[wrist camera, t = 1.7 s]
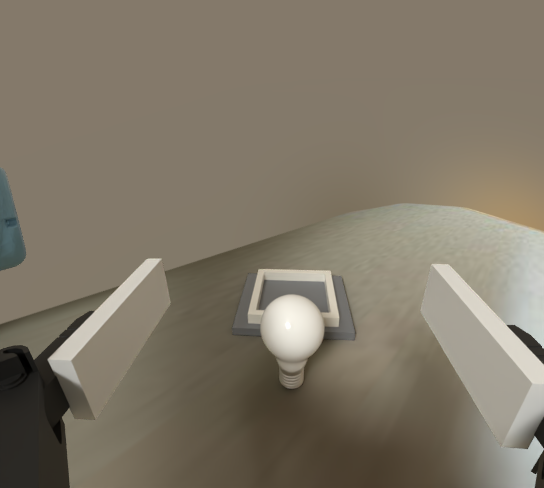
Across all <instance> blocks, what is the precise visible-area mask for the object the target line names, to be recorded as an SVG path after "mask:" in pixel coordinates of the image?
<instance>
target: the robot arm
mask: <svg viewBox="0 0 544 488" xmlns="http://www.w3.org/2000/svg"><path fill="white" fill-rule="evenodd" d="M25 257H26V249H25V245H24V240H23V236H22V233H21V228H20V224H19V220H18V217H17V212H16V209H15V205H14V201H13V197H12V193H11V189H10V186H9V182H8V178H7V175H6V172H5V171H4V169H3V168H0V271H1V270H5V269H8V268H12V267H15V266H17V265H19V264H21V263H22V262H23V261H24V259H25ZM170 304H171V302H170V297H169V292H168V287H167V282H166V277H165V272H164V267H163V262H162V259H154V258H151V259H150V258H147V259H146V260H145V261H144V262H143V263H142V264H141V265H140V266H139V267H138V268H137V270H135V271H134V272H133V273H132V275H130V276H129V277H128V278H127V279H126V281H124V282H123V283H122V285H121V286H120V287H119V288H118V289H117V290H116V291H115V292H114V293H113V294H112V295H111V296H110V297H109V298H108V299H107V300H106V301H105V302H104V303H103V304H102V305H101V306H100V307H99V308H98V309H97V310H96V311H89V312H87V313H86V314H84V315H82V316H81V317H79V318H78V319H76V320H75V321H74V322H73V323H72V324H71V325H70V326H69V327H68V328H67V330H65V331H64V332H63V333H62V334H61V335H60V337H59V338H57V339H55V340H54V341H53V342H52V343H51V344H50V345H49V346H48V347H47V348H46V349H45V350H44V351H43V352H42V353H41V354H40V355H39V356H38V357H37V358H36V359H35V360H33V358H32V355H31V353H30V351H29V349H28V347H25V346H23V345H18V346H11V347H7V348H3V349H1V350H0V488H70V485H69V473H68V461H67V449H66V436H65V424H64V422H63V420H62V416H63V415H64V414H65V412H66V411H67V410H68V408H69V407H70V410H71V412H72V414H73V416H74V418H75V419H86V420H96V419H97V417H98V416H99V414H100V413H101V411H102V410H103V408H104V406H105V405H106V403H107V402H108V400H109V399H110V397H111V396H112V394H113V392H114V391H115V389H116V388H117V386H118V385H119V383H120V382H121V380H122V378H123V377H124V375H125V374H126V372H127V371H128V369H129V368H130V366H131V365H132V363H133V361H134V360H135V358H136V357H137V355H138V354H139V352H140V351H141V349H142V347H143V346H144V344H145V343H146V341H147V340H148V338H149V337H150V335H151V333H152V332H153V330H154V329H155V327H156V326H157V324H158V323H159V321H160V319H161V318H162V316H163V315H164V313H165V312H166V310H167V309H168V307H169V305H170ZM420 312H421V314H422V315H423V317H424V319H425V320H426V322H427V324H428V325H429V327H430V329H431V330H432V332H433V334H434V335H435V337H436V339H437V340H438V342H439V344H440V345H441V347H442V349H443V350H444V352H445V354H446V356H447V357H448V359H449V361H450V362H451V364H452V366H453V367H454V369H455V371H456V372H457V374H458V376H459V377H460V379H461V381H462V382H463V384H464V386H465V387H466V389H467V391H468V392H469V394H470V396H471V398H472V399H473V401H474V403H475V404H476V406H477V408H478V409H479V411H480V413H481V414H482V416H483V418H484V419H485V421H486V423H487V424H488V426H489V428H490V429H491V431H492V433H493V434H494V436H495V438H496V440H497V441H498V443H499V445H500V446H501V447H507V448H522V449H528V447H529V445H530V444H531V442H532V440H533V438H534V436H535V437H536V438H537V439H538V441H539V442H540V444H541V445H542V446H543V448H544V349H542V346H541V345H540V344H539V343H538V342H537V341H536V340H535V339H534V338H533V337H532V336H531V335H530V334H528V333H526V332H525V331H523V330H522V329H520V328H518V327H517V326H515V325H506V324H505V323H504V322H503V321H502V320H501V319H500V318H499V317H498V316H497V315H496V314H495V313H494V312H493V311H492V310H491V309H490V308H489V306H488V305H487V304H486V303H485V302H484V301H483V300H482V299H481V298H480V297H479V296H478V295H477V294H476V293H475V292H474V291H473V290H472V289H471V288H470V286H469V285H468V284H467V283H466V282H465V281H464V280H463V279H462V278H461V277H460V276H459V275H458V274H457V273H456V272H455V271H454V270H453V269H452V268H451V266H450V265H449V264H431V268H430V273H429V277H428V281H427V285H426V290H425V294H424V298H423V302H422V307H421V311H420ZM531 472H533V473H534V474H536V473H537V478H536V484H535V488H544V450H543V452H542V454H541V455H540V457H539V459H538V461H537V462H536V464H535V466H534V467H533V469H532V471H531Z"/></svg>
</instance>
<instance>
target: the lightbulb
mask: <svg viewBox="0 0 544 488" xmlns="http://www.w3.org/2000/svg"><path fill="white" fill-rule="evenodd" d="M260 332H261V337H262V340H263V342H264V344H265V346H266V347H267V349H268V350H269V351H270V352H271V353H272V354H273V355H274V356H275V357H276V360H277V363H278V365H279V380H280V383H281V384H282V385H283V386H284V387H286V388H290V389H294V388H298V387H299V386H301V385H302V383H303V380H304V366H305V365H306V363H307V360H308V358H309V357H310V356H311V355H312V354H314V353H315V352H316V350H317V349H318V348H319V346H320V345H321V343H322V340H323V337H324V332H325V325H324V320H323V316H322V314H321V312H320V310H319V309H318V307H317V306H316V305H315V304H314V303H313V302H312V301H311V300H309V299H308V298H306V297H303V296H301V295H296V294H288V295H283V296H280V297H278V298H276V299H275V300H273V301H272V302H271V303H270V304H269V305H268V306H267V307H266V309H265V310H264V312H263V315H262V318H261V322H260Z"/></svg>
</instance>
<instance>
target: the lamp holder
mask: <svg viewBox="0 0 544 488" xmlns="http://www.w3.org/2000/svg"><path fill="white" fill-rule="evenodd" d="M288 294H296V295H301V296H303V297H306V298H308V299H309V300H311V301H312V302H313V303H314V304H315V305H316V306H317V307H318V309H319V310H320V312H321V314H322V316H323V320H324V325H325V332H324V337H323V339H339V340H354V339H355V330H354V326H353V322H352V317H351V313H350V309H349V305H348V301H347V297H346V293H345V289H344V285H343V281H342V277H341V276H331V271H316V270H279V269H259V270H258V274H257V273H248V276H247V279H246V283H245V286H244V289H243V293H242V296H241V299H240V303H239V306H238V309H237V313H236V316H235V319H234V323H233V326H232V333H233V335H250V336H261V332H260V322H261V318H262V315H263V312H264V310H265V309H266V307H267V306H268V305H269V304H270V303H271V302H272V301H273V300H275V299H276V298H278V297H280V296H283V295H288Z"/></svg>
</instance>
